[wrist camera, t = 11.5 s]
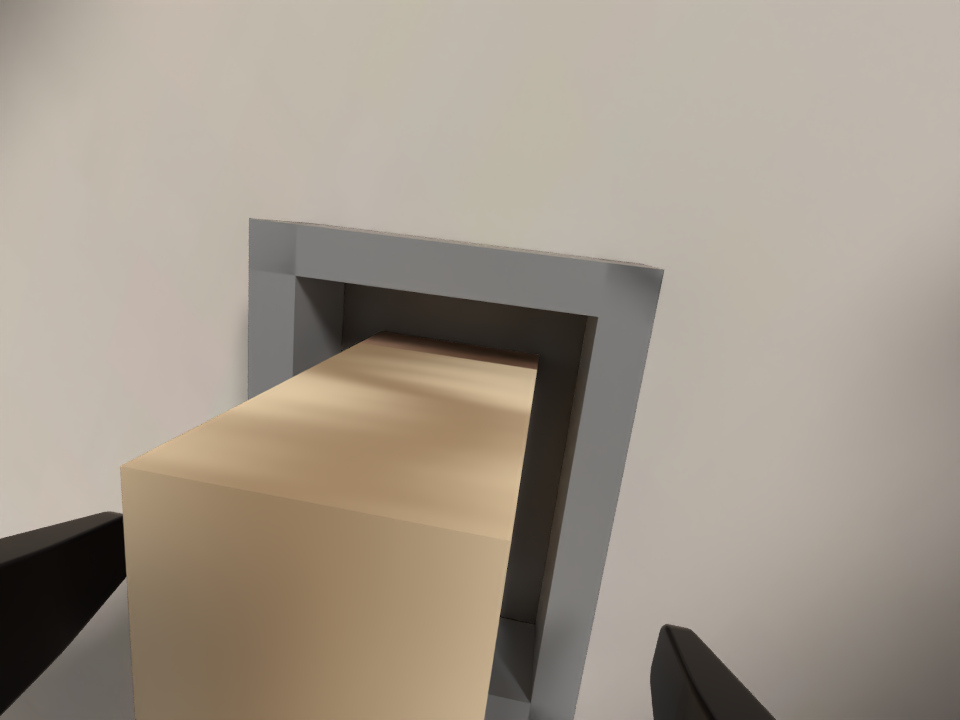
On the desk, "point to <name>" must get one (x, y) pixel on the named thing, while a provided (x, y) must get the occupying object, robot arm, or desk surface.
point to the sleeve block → (332, 541)
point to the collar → (594, 417)
